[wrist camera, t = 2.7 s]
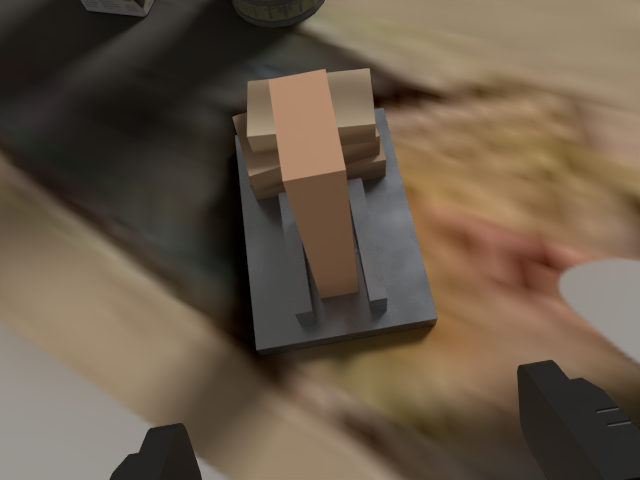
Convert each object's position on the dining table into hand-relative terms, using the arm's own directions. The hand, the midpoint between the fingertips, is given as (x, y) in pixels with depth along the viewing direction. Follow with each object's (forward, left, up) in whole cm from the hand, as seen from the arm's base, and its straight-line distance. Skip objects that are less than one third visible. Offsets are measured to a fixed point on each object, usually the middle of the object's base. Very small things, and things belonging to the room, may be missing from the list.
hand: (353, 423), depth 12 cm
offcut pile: (-17, -10, -17) cm, 26 cm away
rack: (-13, -7, -19) cm, 24 cm away
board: (-10, -6, -17) cm, 21 cm away
